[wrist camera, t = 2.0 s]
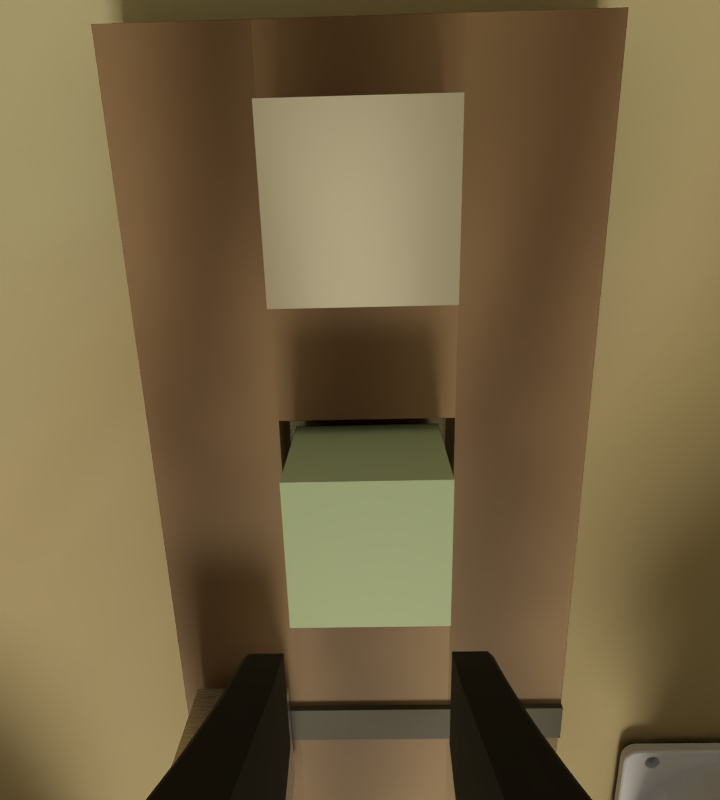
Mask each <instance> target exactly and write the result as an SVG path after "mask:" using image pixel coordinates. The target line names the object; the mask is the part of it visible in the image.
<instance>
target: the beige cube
mask: <svg viewBox="0 0 720 800" xmlns="http://www.w3.org/2000/svg"><path fill="white" fill-rule="evenodd" d="M252 108H253V122H254V136H255V150H256V164H257V178H258V192H259V205H260V219H261V233H262V247H263V261H264V275H265V289H266V303H267V309H298V308H343V307H388V306H434V305H459V285H460V247H461V208H462V169H463V130H464V92H457V93H422V94H387V95H353V96H318V97H283V98H252Z"/></svg>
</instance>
